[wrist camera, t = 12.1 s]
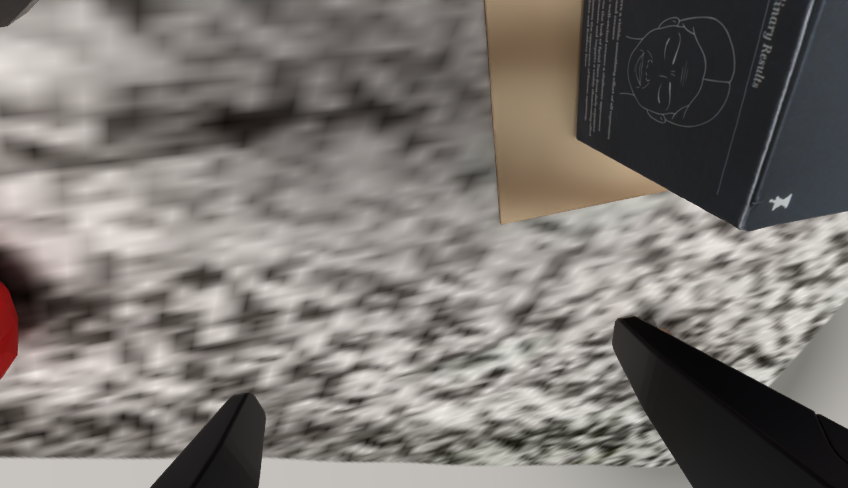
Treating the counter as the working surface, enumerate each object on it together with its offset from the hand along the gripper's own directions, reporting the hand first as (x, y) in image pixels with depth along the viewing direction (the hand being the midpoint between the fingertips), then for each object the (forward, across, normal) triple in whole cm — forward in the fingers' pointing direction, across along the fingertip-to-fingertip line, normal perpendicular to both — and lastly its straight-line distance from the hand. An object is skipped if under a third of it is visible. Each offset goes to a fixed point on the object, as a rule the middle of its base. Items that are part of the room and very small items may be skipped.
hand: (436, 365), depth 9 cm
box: (+13, -12, -4) cm, 18 cm away
